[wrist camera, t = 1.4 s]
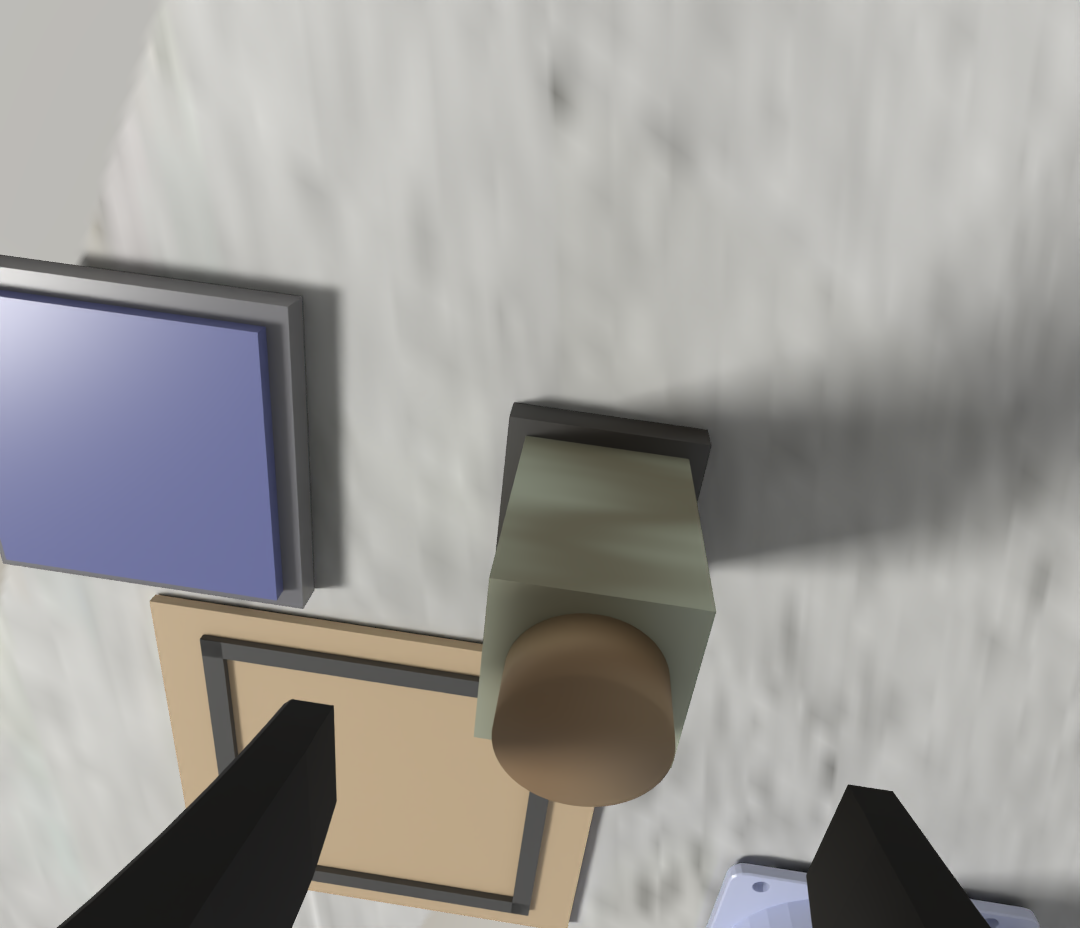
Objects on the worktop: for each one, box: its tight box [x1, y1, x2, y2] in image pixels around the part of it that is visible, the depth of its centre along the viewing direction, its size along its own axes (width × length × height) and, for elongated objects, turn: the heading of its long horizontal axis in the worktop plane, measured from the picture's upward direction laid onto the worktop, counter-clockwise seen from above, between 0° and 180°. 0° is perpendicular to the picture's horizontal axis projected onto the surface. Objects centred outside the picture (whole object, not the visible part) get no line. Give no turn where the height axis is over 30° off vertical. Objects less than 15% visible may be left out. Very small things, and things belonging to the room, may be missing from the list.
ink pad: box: [0, 255, 314, 609], centre depth 18 cm, size 8×8×1 cm
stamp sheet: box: [150, 595, 594, 928], centre depth 23 cm, size 13×12×1 cm
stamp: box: [474, 403, 716, 807], centre depth 15 cm, size 4×4×7 cm
